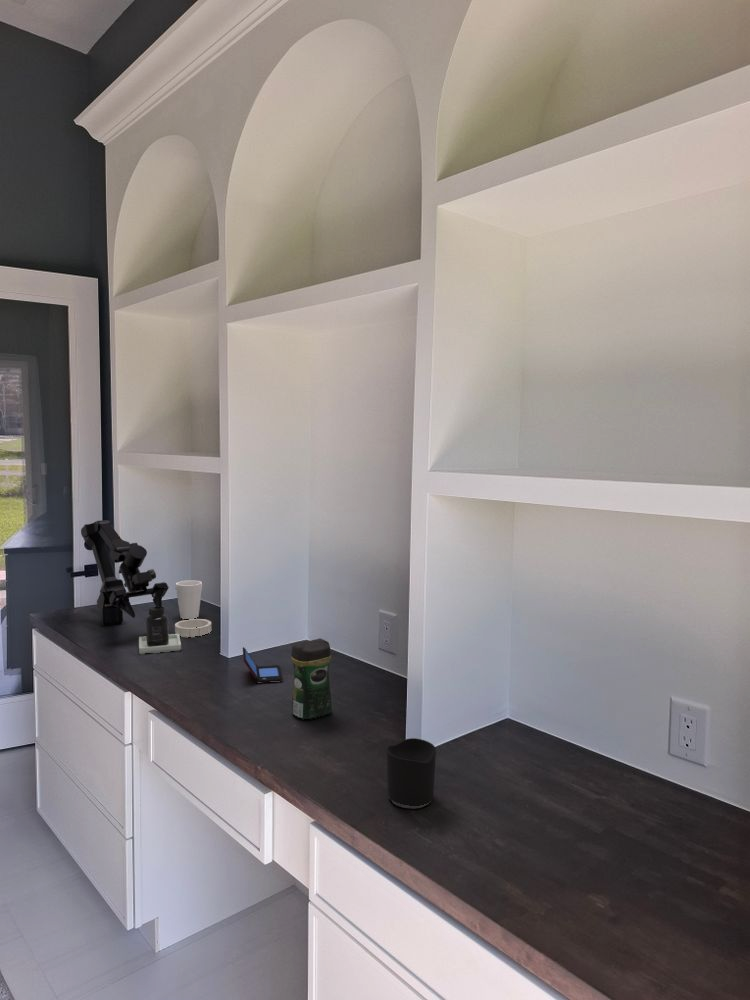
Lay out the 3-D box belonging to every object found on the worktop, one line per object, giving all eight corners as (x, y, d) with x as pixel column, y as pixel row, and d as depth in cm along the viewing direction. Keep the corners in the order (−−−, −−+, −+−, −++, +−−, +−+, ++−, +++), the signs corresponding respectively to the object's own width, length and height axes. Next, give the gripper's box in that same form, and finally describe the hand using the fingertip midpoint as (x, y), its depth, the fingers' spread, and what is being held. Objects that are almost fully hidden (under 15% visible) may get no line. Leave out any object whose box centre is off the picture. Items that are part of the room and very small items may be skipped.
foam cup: (195, 612, 270) (195, 579, 268) (207, 617, 262) (206, 583, 261) (172, 616, 264) (171, 582, 262) (182, 622, 256) (182, 587, 255)
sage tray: (139, 654, 220) (139, 648, 220) (139, 642, 232) (139, 636, 232) (181, 650, 224) (181, 644, 224) (179, 639, 236) (178, 633, 235)
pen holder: (436, 812, 131) (436, 761, 130) (385, 811, 132) (385, 759, 130) (434, 787, 140) (434, 738, 139) (386, 785, 141) (387, 737, 140)
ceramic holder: (176, 638, 237) (175, 629, 236) (174, 628, 248) (174, 620, 248) (212, 635, 240) (212, 627, 240) (209, 626, 252) (209, 617, 251)
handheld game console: (283, 683, 197) (282, 657, 196) (243, 686, 195) (243, 659, 194) (280, 668, 209) (279, 643, 208) (242, 670, 207) (242, 645, 206)
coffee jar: (319, 704, 182) (319, 633, 180) (336, 714, 175) (336, 641, 173) (286, 713, 176) (286, 640, 174) (302, 723, 170) (302, 648, 168)
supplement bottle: (173, 642, 229) (172, 606, 228) (160, 649, 223) (159, 611, 222) (155, 640, 232) (154, 604, 230) (142, 646, 225) (141, 609, 224)
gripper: (111, 565, 228) (127, 605, 222) (165, 558, 241) (181, 596, 234) (102, 585, 235) (117, 625, 228) (155, 577, 248) (171, 614, 241)
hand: (147, 614), depth 233 cm, fingers open, 9 cm apart
